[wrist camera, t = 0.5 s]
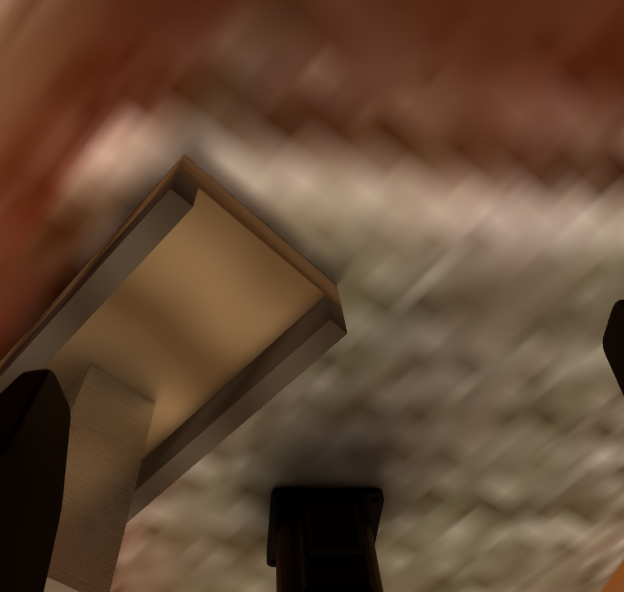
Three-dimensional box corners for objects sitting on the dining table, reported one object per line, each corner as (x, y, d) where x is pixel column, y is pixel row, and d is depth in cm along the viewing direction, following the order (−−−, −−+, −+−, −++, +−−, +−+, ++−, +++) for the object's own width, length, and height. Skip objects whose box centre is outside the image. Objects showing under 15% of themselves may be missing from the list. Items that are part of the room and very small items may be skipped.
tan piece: (183, 154, 24) (170, 188, 21) (337, 286, 28) (347, 333, 24) (-103, 475, 32) (-148, 540, 28) (46, 547, 35) (23, 611, 32)
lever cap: (155, 402, 28) (106, 604, 19) (93, 461, 29) (21, 672, 21) (76, 352, 26) (-17, 548, 18) (14, 417, 28) (-99, 626, 19)
